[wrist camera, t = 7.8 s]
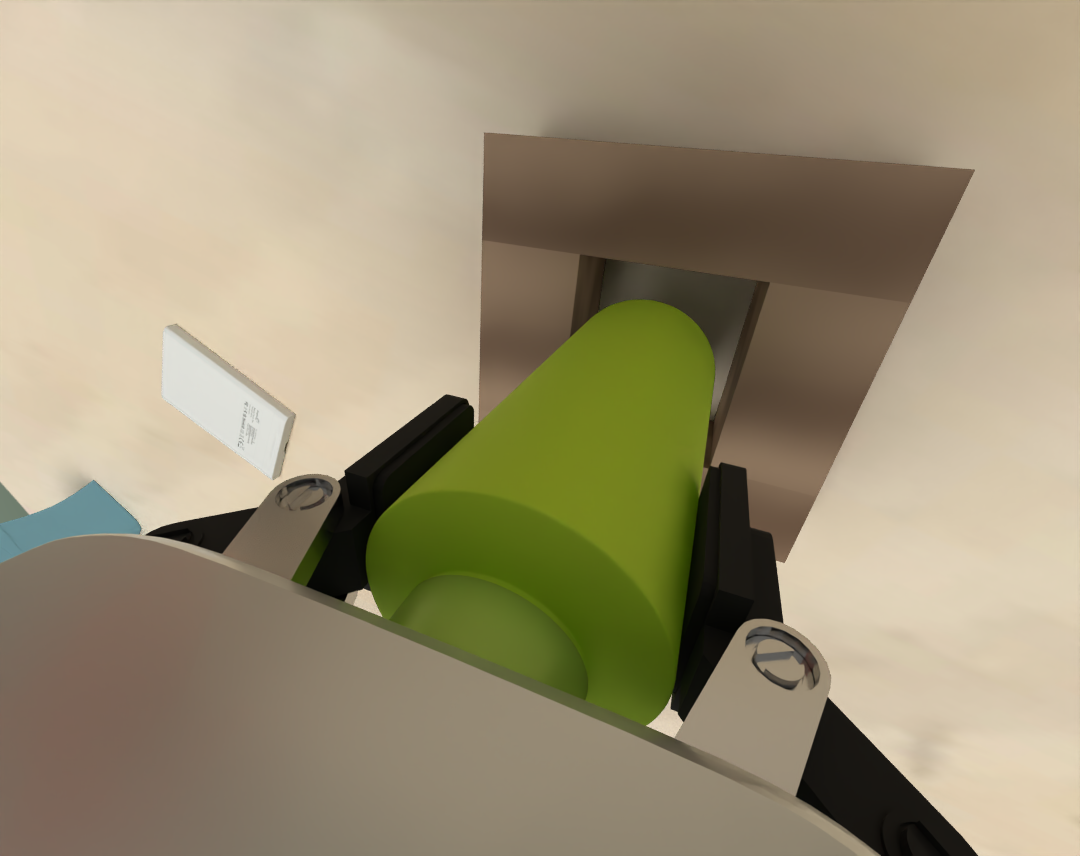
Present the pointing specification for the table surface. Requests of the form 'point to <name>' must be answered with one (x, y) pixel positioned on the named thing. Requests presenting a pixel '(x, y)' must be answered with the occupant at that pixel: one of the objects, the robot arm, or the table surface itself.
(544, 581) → the soap dispenser
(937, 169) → the socket block
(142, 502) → the table surface
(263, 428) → the external hard drive
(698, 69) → the table surface
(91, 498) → the light blue angular piece
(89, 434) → the table surface
